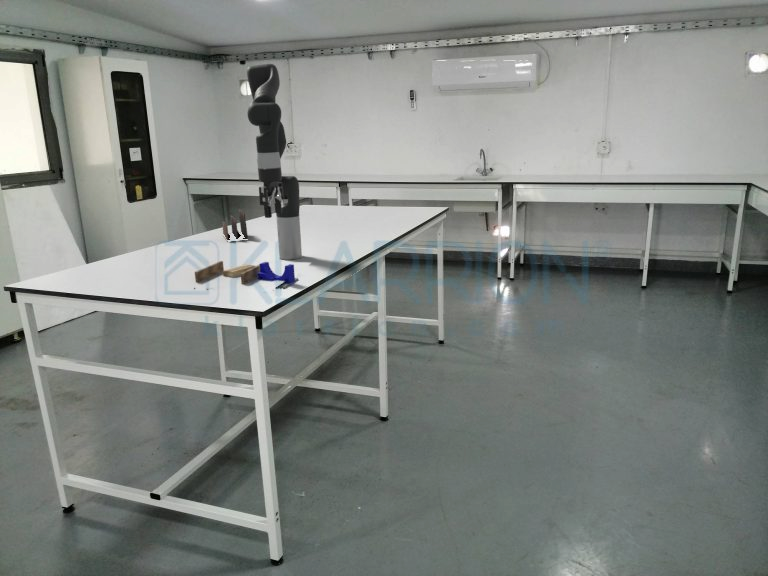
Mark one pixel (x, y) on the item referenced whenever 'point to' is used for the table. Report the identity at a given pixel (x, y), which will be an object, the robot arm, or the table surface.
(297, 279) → the rubber mat
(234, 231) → the letter holder
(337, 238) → the table surface
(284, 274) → the blue curved piece
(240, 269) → the upper offcut
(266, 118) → the robot arm
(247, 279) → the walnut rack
